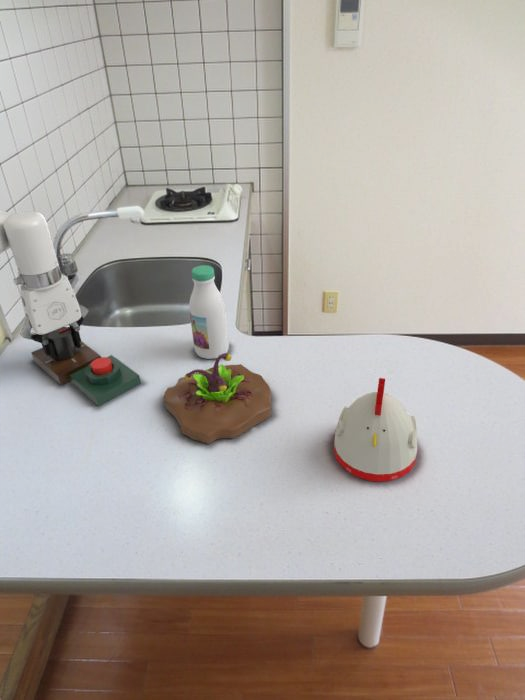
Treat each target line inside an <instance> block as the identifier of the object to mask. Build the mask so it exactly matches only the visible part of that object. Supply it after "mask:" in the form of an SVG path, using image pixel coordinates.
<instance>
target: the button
mask: <svg viewBox="0 0 525 700" xmlns="http://www.w3.org/2000/svg"><path fill="white" fill-rule="evenodd" d="M106 357H107V356H106ZM106 357H105V356H103V357H102V356H101V358H97V359H95V360H94V361H93V362H92V363H91V367H92V371H93V373H94V374H95V375H102V374H106V373H108V372H110V371H111V370H112V369H113V367H112V363H111V360H110V359H109V358H106Z"/></svg>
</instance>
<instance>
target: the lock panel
mask: <svg viewBox="0 0 525 700" xmlns="http://www.w3.org/2000/svg"><path fill="white" fill-rule="evenodd" d="M80 345H81V347H80V348H77V347H76V349H77V354H76V355H75V356H74V357H72V358H70V359H67V360H56V359H52V358H51V357H50V356H49V355H48V356H47V355H46V354H45V352H44V350H43V347H40V348H39V349H36V350H33V351H31V352H30V353H31V356H32V359H33V362H34V363H35V364H36V365H37V366H39V367H40V368H41V369H42V370H43V371H44V372H45V373H46V374H47V375H48V376H50V377H51V378H52V379H53V380H54V381H55V382H56V383H57V384H59V385H60V386H64V385H65V384H67V383H69V382H72V381H71V378H70V375H71V374H73V373H75V372H77V371H79V370H81V369H83V368H85V367H87V366H88V365H89V364H90V363H92V362H93V361H94V360H95V359H97V358H101V357H102V356H101V355H100V354H99V353H98V352H97V351H95V350H93V349H92V348H91V347H90V346H88V345H87V344H85V343H84V342H83V341H82V340H81V342H80Z"/></svg>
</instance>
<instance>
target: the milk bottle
mask: <svg viewBox="0 0 525 700" xmlns="http://www.w3.org/2000/svg"><path fill="white" fill-rule="evenodd" d="M214 269H215V268H214V267H213V266H211V265H207V264H206V265H205V264H202V265H197V266H195V267H193V268H192V269H191V278H192V279H191V280H192V282H193V288H192V291H191V295H190V297H189V303H188V304H189V305H188V308H189V318H190V325H191V326H190V327H191V333H192V340H193V348H194V352H195V354H196V355H197V356H198V357H200V358H202V359H208V360H212V359H217V358H218V357H219V355H222V354H224V353H228V351H229V349H230V343H229V342H230V341H229V331H228V322H227V321H228V320H227V313H226V305H225V301H224V298H223V296H222V293H221V292H220V290H219V289H218V287H217V286H216V283H215V279H216V278H215V277H216V276H215V270H214Z"/></svg>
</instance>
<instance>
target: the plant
mask: <svg viewBox="0 0 525 700" xmlns="http://www.w3.org/2000/svg"><path fill="white" fill-rule="evenodd" d="M221 359H223V360H224V361H226V362H229V361H231V360H232V355H231V354H230V353H228V352H227V353H224V354H222V355H219V357H218V358H215V362H214V364H213V366H212V367H210V368H208V369H202V368H201V369H200V368H199V369H198V368H197V369H193V370H191V371H190V372H187V373H186V374H185V375H184V376H182V377H180V378H178V379H177V383H176V384H175V385H173V386H170V387H167V388H166V390H165V391H164V393H163V400H164V401H163V403H164V405H165V409H166V410H167V412H168V413H169V414H171V415H172V416H173V417H174V418H175V419H176V421H177V423H178V424H179V426H180V430H181V434H182V435H184V436H187V437H189V438H190V439H191V440H194V441H197V442H201V443H203V444H204V443H205V444H207V445H210V444H212V443H213V442H215V441H217V440H221V439H235V438H237V437H239V436H241V435H242V434H244V433H246V432H247V431H249V430H251V429H252V428H254V427H255V426H257V425H258V424H260V423H263V422H265V420H268V419H269V418H271V417H272V405H271V403H272V390H271V388H270V386H269V384H268V383H267V382H266V381H265V379H264V378H263V376H262V375H261V374H260V373H257V372H256V373H255V372H253V371H252V370H250V369H248V368H247V367H246V366H244V365H243V364H241V363H240V364H225V365H224V364H220V360H221ZM219 364H220V365H219Z"/></svg>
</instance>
